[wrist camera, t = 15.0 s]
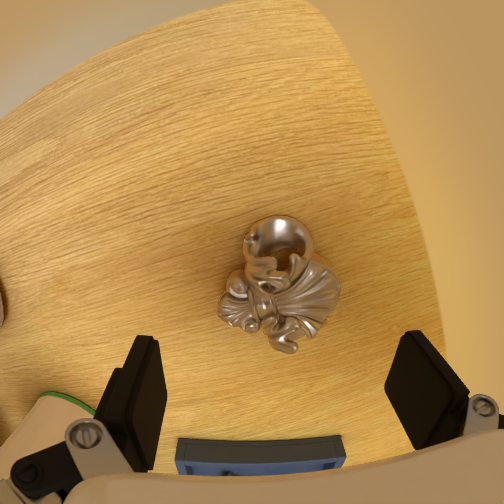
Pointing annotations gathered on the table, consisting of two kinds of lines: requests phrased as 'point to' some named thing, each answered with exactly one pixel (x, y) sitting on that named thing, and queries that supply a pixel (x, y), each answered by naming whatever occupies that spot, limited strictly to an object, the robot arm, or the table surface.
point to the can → (1, 311)
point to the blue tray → (258, 456)
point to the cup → (41, 428)
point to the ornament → (280, 286)
